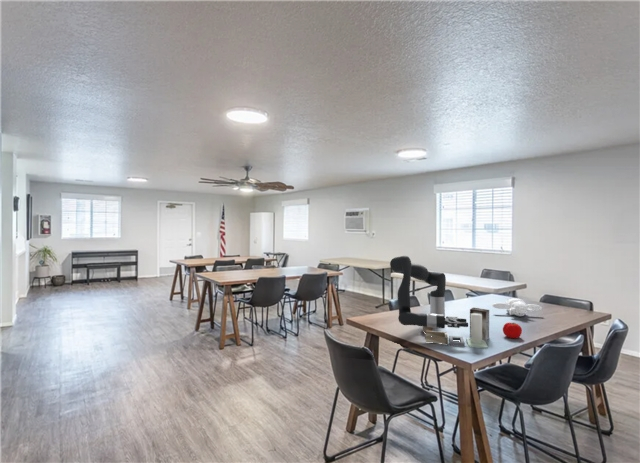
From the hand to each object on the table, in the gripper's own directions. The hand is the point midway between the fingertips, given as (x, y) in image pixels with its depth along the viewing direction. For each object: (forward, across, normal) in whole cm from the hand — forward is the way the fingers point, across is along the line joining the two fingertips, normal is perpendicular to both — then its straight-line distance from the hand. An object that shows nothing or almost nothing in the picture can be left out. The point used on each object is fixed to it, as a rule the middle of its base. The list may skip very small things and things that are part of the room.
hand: (467, 322), depth 187 cm
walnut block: (-20, +14, +11) cm, 27 cm away
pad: (+5, 0, +11) cm, 12 cm away
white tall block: (+4, 0, +10) cm, 11 cm away
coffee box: (+8, +13, +11) cm, 19 cm away
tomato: (+26, +19, +11) cm, 34 cm away
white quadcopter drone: (+42, +81, +11) cm, 92 cm away
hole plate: (-5, 0, +11) cm, 12 cm away
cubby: (-16, 0, +11) cm, 20 cm away
